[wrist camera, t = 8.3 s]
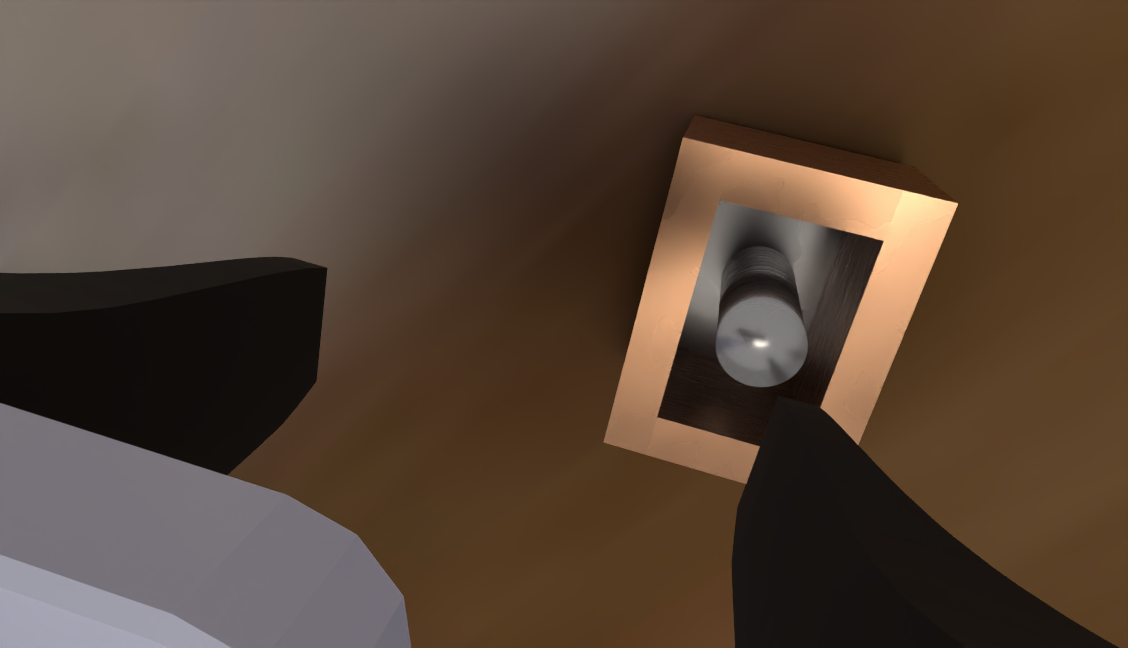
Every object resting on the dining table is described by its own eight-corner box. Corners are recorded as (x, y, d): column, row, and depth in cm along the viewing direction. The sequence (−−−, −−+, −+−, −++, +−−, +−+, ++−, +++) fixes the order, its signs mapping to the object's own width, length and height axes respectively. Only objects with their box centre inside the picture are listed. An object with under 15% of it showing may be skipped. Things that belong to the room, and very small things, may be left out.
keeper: (820, 380, 21) (843, 483, 16) (642, 331, 22) (613, 417, 17) (887, 203, 19) (934, 263, 14) (689, 155, 20) (671, 197, 15)
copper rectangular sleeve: (816, 423, 21) (831, 509, 17) (627, 370, 21) (603, 442, 18) (914, 166, 18) (958, 203, 14) (694, 114, 19) (682, 136, 15)
